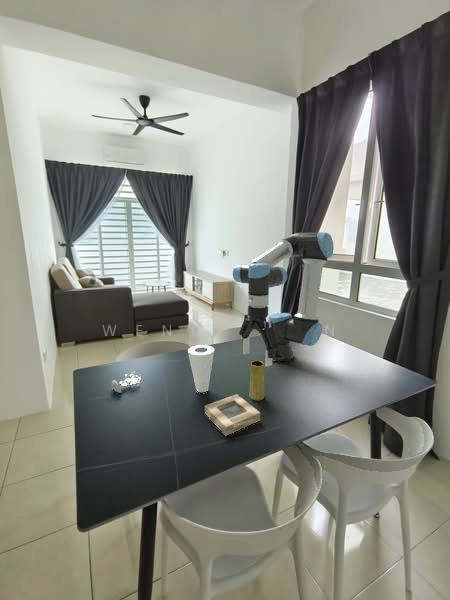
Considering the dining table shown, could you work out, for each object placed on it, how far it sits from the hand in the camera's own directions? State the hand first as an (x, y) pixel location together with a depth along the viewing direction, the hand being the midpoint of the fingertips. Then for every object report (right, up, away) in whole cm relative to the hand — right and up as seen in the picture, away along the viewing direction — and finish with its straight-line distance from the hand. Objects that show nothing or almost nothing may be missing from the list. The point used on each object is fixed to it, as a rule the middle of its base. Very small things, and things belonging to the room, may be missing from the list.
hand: (256, 359), depth 110 cm
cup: (-22, -15, +9) cm, 28 cm away
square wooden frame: (-10, -19, -10) cm, 23 cm away
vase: (0, -16, +4) cm, 16 cm away
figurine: (-54, -15, +11) cm, 57 cm away
